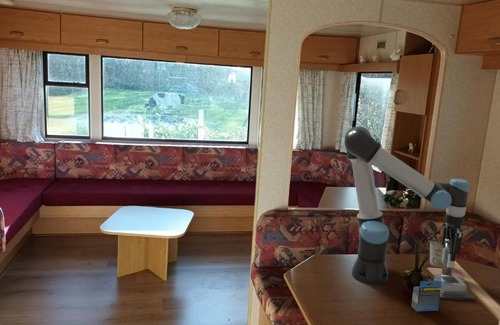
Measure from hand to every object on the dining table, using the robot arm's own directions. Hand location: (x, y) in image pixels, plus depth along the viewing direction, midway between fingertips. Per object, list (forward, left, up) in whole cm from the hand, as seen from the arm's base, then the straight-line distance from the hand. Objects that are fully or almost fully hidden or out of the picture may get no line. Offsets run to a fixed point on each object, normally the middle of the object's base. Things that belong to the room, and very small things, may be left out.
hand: (447, 264), depth 183 cm
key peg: (0, 0, -5) cm, 5 cm away
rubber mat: (0, 0, -5) cm, 5 cm away
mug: (+2, +13, -5) cm, 14 cm away
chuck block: (-6, -15, -5) cm, 17 cm away
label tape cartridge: (-22, -30, -5) cm, 38 cm away
